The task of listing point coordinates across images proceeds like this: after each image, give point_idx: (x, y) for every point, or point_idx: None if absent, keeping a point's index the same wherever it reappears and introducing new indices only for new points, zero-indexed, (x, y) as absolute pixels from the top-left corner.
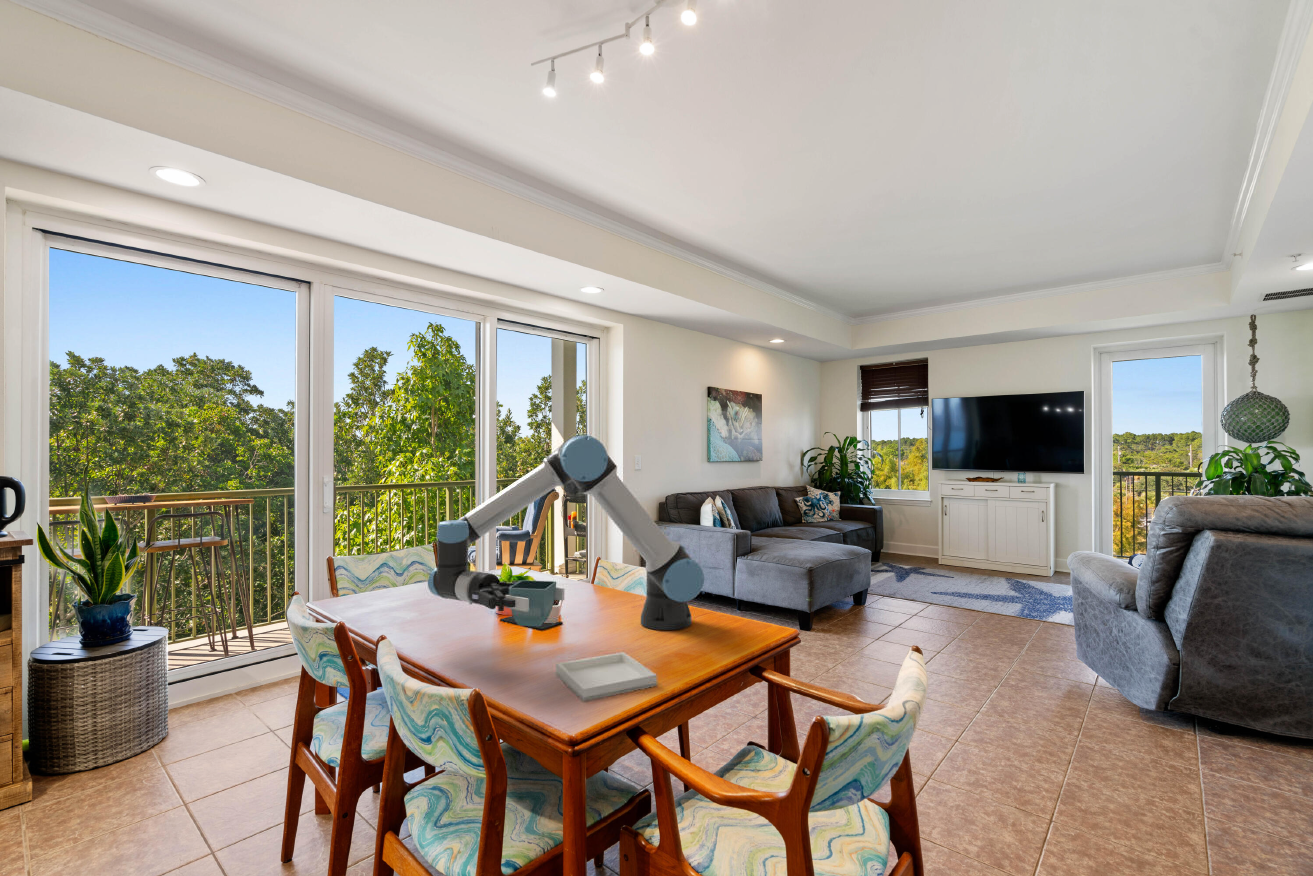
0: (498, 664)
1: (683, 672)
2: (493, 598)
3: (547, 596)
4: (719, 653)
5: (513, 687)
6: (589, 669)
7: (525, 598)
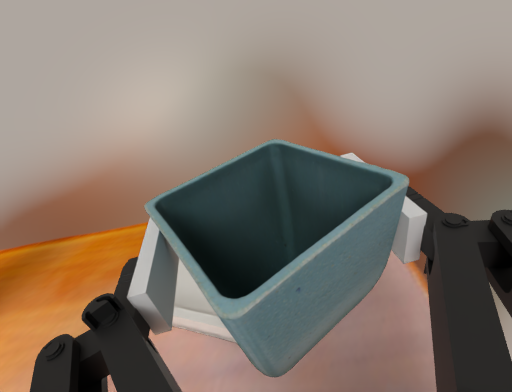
0: None
1: (142, 239)
2: (506, 212)
3: (263, 173)
4: (51, 261)
5: (380, 347)
6: (211, 308)
7: (351, 158)
